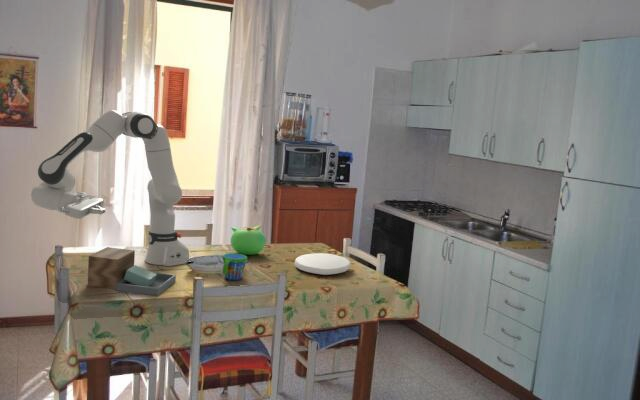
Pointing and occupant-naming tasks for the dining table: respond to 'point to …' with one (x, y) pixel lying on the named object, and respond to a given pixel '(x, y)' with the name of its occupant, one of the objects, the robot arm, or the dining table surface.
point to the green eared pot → (248, 240)
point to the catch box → (155, 289)
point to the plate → (322, 263)
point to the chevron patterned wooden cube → (109, 266)
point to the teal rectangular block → (140, 276)
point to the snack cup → (234, 265)
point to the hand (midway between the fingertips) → (103, 211)
